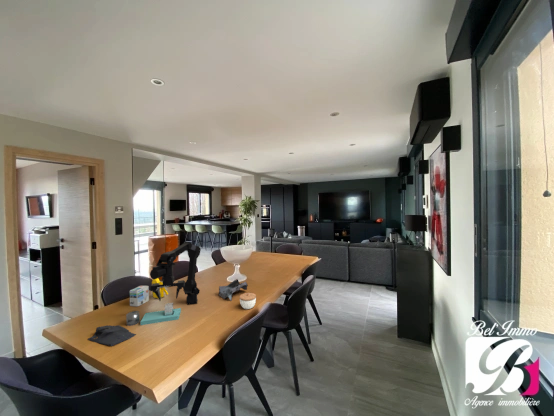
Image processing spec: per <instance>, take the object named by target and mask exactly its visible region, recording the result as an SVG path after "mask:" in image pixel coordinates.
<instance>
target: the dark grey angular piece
mask: <svg viewBox="0 0 554 416" xmlns="http://www.w3.org/2000/svg"><path fill="white" fill-rule="evenodd" d="M248 287H249V286H248V283H247V281H243V282H241V283H240V281H239V279H238V278H236V279H235V280H233V281H231V282H230V283H229V284H227V285H222V286H221V285H220V286H218V296H220V297H221V298H222V299H224V300H225V299H227V298H229V300H230V301H232V300H233V299H232V298H233V293H235V292H238V291H240V289H242V290H244V291H247V290H248Z"/></svg>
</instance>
